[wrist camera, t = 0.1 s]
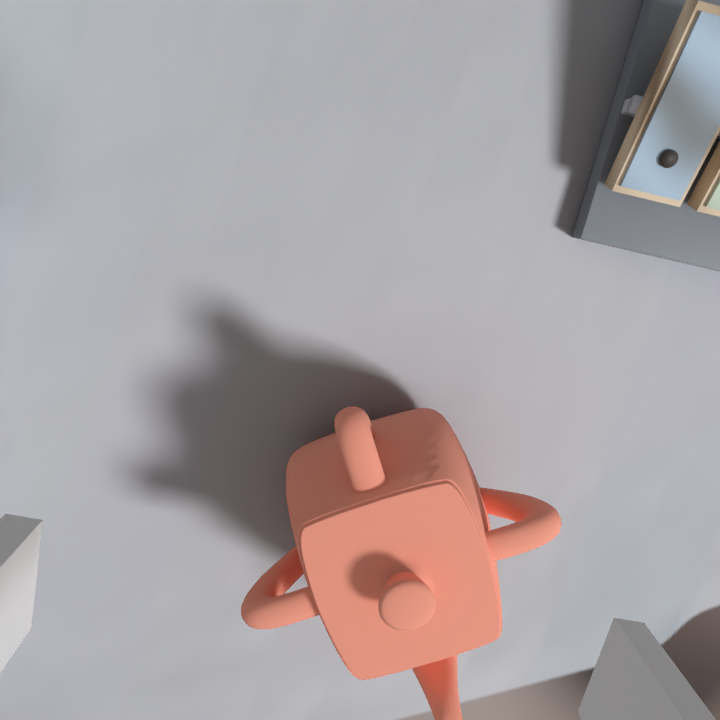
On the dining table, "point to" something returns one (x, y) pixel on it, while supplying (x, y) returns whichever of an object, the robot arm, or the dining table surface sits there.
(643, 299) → the dining table surface
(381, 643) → the teapot
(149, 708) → the dining table surface
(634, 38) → the board
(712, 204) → the tile
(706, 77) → the tile
